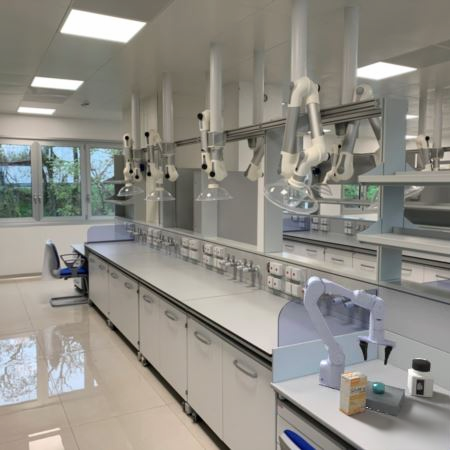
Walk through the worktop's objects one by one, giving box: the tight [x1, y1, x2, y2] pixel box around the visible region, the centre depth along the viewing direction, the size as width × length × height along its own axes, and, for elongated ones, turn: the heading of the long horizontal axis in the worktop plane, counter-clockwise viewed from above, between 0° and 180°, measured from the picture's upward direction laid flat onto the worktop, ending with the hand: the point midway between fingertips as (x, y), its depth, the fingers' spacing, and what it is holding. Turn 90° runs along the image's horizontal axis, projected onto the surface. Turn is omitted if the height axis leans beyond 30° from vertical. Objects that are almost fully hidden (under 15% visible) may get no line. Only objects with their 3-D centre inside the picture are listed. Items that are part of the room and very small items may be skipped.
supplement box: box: [339, 370, 368, 416], centre depth 155 cm, size 8×5×13 cm, turn 118°
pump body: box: [365, 380, 406, 417], centre depth 164 cm, size 16×16×4 cm
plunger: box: [372, 381, 386, 394], centre depth 163 cm, size 4×4×6 cm
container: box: [406, 357, 435, 399], centre depth 171 cm, size 8×8×13 cm
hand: (375, 362), depth 174 cm, fingers open, 7 cm apart
